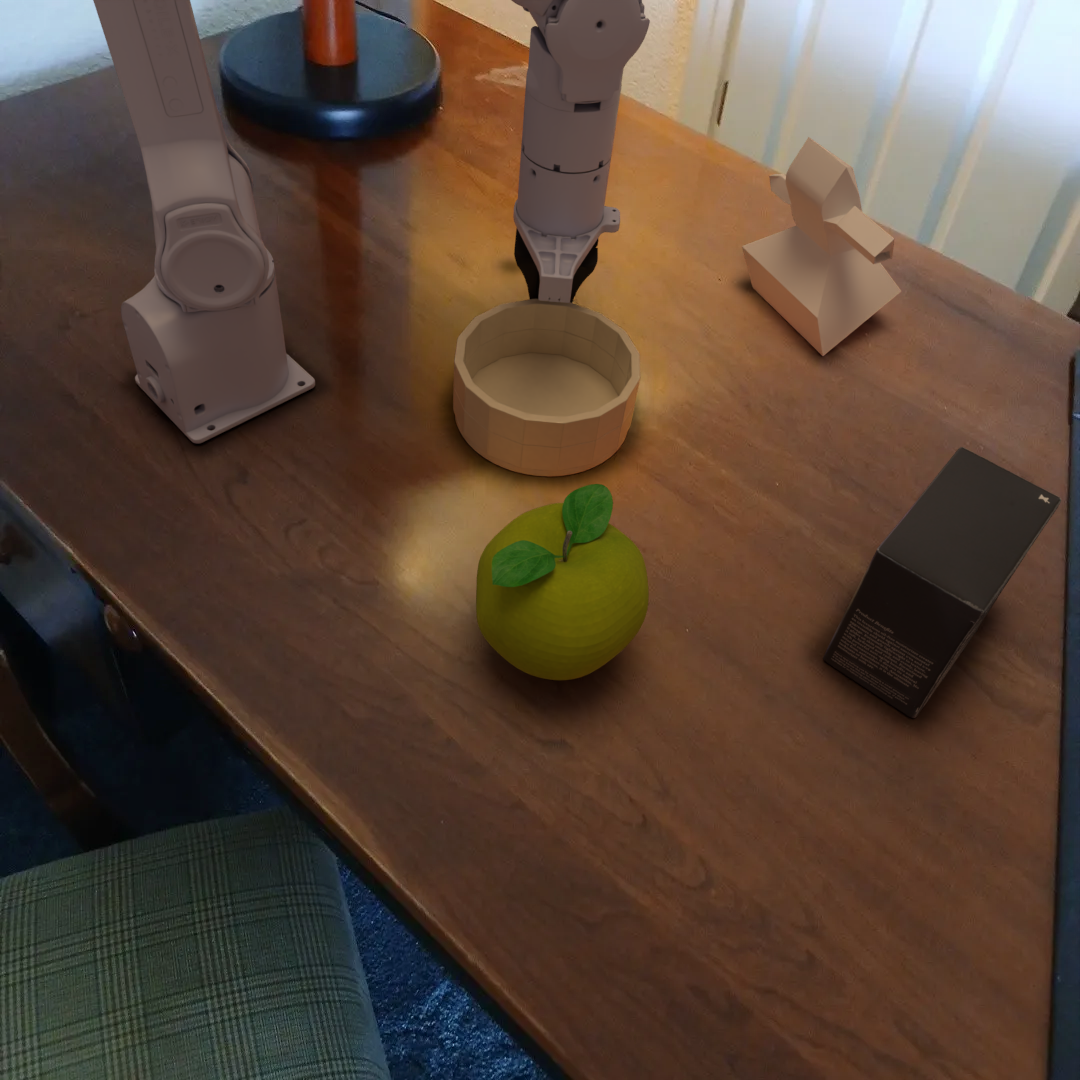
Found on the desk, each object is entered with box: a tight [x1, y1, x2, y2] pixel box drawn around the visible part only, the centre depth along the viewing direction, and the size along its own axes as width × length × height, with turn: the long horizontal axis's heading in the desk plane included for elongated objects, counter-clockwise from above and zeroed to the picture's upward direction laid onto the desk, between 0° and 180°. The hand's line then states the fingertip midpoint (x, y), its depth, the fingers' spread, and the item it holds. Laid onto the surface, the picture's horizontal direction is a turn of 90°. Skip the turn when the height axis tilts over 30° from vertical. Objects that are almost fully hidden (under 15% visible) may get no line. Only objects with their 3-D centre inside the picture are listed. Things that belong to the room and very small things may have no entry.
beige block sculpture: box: [741, 136, 902, 357], centre depth 78 cm, size 8×14×14 cm, turn 29°
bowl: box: [452, 298, 641, 477], centre depth 71 cm, size 12×12×5 cm
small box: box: [822, 446, 1062, 719], centre depth 59 cm, size 11×6×10 cm, turn 141°
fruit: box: [475, 483, 650, 681], centre depth 57 cm, size 9×9×10 cm
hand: (548, 321), depth 76 cm, fingers closed
